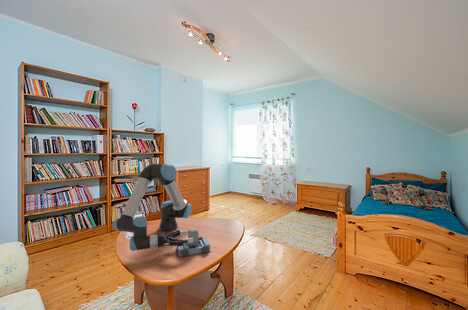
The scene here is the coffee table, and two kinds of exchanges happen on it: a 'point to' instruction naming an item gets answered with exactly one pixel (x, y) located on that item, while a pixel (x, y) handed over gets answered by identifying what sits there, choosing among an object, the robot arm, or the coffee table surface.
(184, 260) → the coffee table surface
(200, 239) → the chassis
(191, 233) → the block
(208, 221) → the coffee table surface
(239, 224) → the coffee table surface
